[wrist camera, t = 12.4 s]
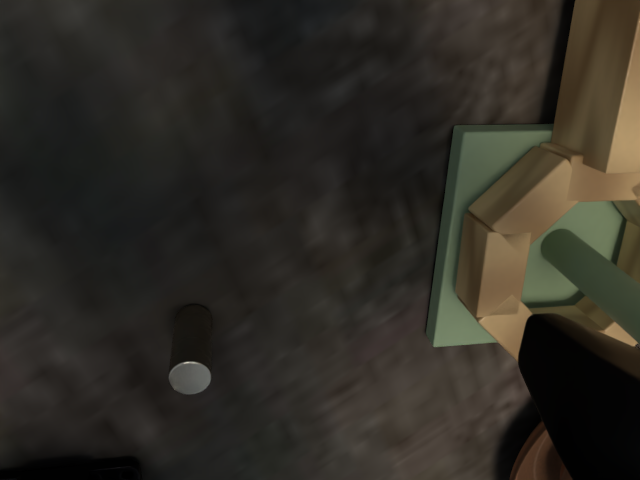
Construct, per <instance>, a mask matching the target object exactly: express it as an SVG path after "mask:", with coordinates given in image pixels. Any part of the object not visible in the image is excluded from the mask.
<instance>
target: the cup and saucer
mask: <svg viewBox="0 0 640 480" xmlns="http://www.w3.org/2000/svg"><path fill="white" fill-rule="evenodd" d="M510 480H572V478H571V476H570V475H569V473H568V471H567V469H566V468H565V466H564V464H563V462H562V460H561V459H560V457H559V455H558V453H557V451H556V449H555V447H554V445H553V443H552V441H551V439H550V437H549V434H548V432H547V430H546V428H545V425H544V423H543V421H541V422H540V423H539V424H538V425H537V426H536V428H535V429H534V430H533V431H532V433H531V434H530V435H529V437H528V438H527V440H526V441H525V443H524V445H523V447H522V448H521V450H520V452H519V454H518V456H517V459H516V461H515V463H514V465H513V468H512V472H511V475H510Z"/></svg>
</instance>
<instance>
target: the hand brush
mask: <svg viewBox="0 0 640 480" xmlns="http://www.w3.org/2000/svg"><path fill="white" fill-rule="evenodd" d="M597 201H613V202H614V204H615V205H616V206H617V208H618V209H619V210H620V212H621V213H622V214H623V216H624V217H625V218H626V220H627V223H626V227H625V231H624V236H623V240H622V244H621V249H620V253H619V257H618V261H617V267H618V268H620V269H621V270H622V271H624V272H625V273H626V274H628V275H629V276H630V277H632V278H633V279H634V280H636V281H637V282H638V283H639V284H640V0H575V4H574V10H573V16H572V21H571V27H570V33H569V39H568V45H567V51H566V56H565V62H564V68H563V74H562V80H561V86H560V91H559V97H558V103H557V109H556V115H555V121H554V126H553V132H552V138H551V143H541V144H540V147H537V146H535V147H533V148H532V149H531V150H530V151H529V152H528V153H527V154H525V155H524V156H523V157H522V158H521V159H520V160H519V161H518V162H517V163H516V164H515V165H514V166H513V167H511V168H510V169H509V170H508V171H507V172H506V173H505V174H504V175H503V176H502V177H501V178H500V179H499V180H497V181H496V182H495V183H494V184H493V185H492V186H491V187H490V188H489V189H488V190H487V191H486V192H485V193H483V194H482V195H481V196H480V197H479V198H478V199H477V200H476V201H475V202H474V203H473V204H472V205H471V206H469V208H468V209H469V211H470V212H471V213H465V214H464V222H463V230H462V238H461V247H460V255H459V264H458V272H457V280H456V289H455V292H456V294H457V295H458V296H457V298H458V299H459V300H460V302H461V303H462V304H463V305H464V306H465V308H466V309H467V310H468V311H469V312H470V314H471V315H472V316H473V317H474V318H475V320H476V321H477V322H478V323H479V324H480V325H481V326H482V327H483V328H484V329H485V330H486V331H487V332H488V333H489V334H490V335H491V336H492V337H493V338H494V339H495V340H496V341H497V342H498V343H499V344H500V345H501V346H502V347H503V348H504V349H505V350H506V351H507V352H508V353H509V354H510V355H511V356H512V357H513V358H514V359H515V360H516V361H518V353H519V349H520V345H521V341H522V337H523V333H524V328H525V324H526V321H527V319H528V317H529V316H531V315H532V314H538V313H557V314H559V315H562V316H564V317H566V318H569V319H571V320H573V321H576V322H578V323H580V324H583V325H585V326H587V327H590V328H592V329H594V330H597V331H599V332H601V333H603V334H606V335H608V336H610V337H613V338H615V339H617V340H620V341H622V342H624V343H627V344H629V345H631V346H635V345H636V344H637V343H638V342H637V341H636V340H634V339H633V338H632V337H631V336H630V335H629V334H628V333H627V332H626V331H625V330H623V329H622V328H621V327H620V326H619V325H618V324H617V323H616V322H615V321H614V320H612V319H611V318H610V317H609V316H608V315H607V314H606V313H605V312H604V311H602V310H601V309H600V308H599V307H598V306H597V305H596V304H595V303H594V302H593V301H591V300H590V299H589V298H588V297H587V296H585V297H583V298H582V299H581V300H580V301H579V302H578V303H576V304H575V305H573V306H558V307H544V308H529V309H528V308H527V306H526V305H525V304H524V303H523V302H522V301H521V296H522V291H523V285H524V279H525V273H526V267H527V261H528V255H529V249H530V245H531V244H532V243H533V242H534V241H535V240H537V239H538V238H539V237H540V236H541V235H542V234H543V233H544V232H546V231H547V230H548V229H549V228H550V227H551V226H552V225H553V224H554V223H556V222H557V221H558V220H559V219H560V218H561V217H562V216H563V215H565V214H566V213H567V212H568V211H569V210H570V209H571V208H572V207H573V206H575V205H576V204H577V203H578V202H597Z"/></svg>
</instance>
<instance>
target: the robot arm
mask: <svg viewBox="0 0 640 480" xmlns="http://www.w3.org/2000/svg"><path fill="white" fill-rule="evenodd" d="M518 365H519V369H520V372H521V374H522V376H523V378H524V381H525V383H526V385H527V387H528V390H529V392H530V394H531V396H532V399H533V401H534V403H535V405H536V408H537V410H538V412H539V414H540V417H541V419H542V421H543V423H544V425H545V428H546V430H547V432H548V434H549V437H550V439H551V441H552V443H553V445H554V447H555V449H556V451H557V453H558V455H559V457H560V459H561V460H562V462H563V464H564V466H565V468H566V469H567V471H568V473H569V475H570V476H571V478H572V480H640V349H638V348H636V347H634V346H631V345H629V344H627V343H624V342H622V341H620V340H617V339H615V338H613V337H610V336H608V335H606V334H603V333H601V332H599V331H597V330H594V329H592V328H590V327H587V326H585V325H583V324H580V323H578V322H576V321H573V320H571V319H569V318H566V317H564V316H562V315H559V314H557V313H538V314H532V315H531V316H529V317H528V319H527V321H526V324H525V328H524V333H523V337H522V341H521V345H520V349H519V353H518ZM125 471H130V472H125ZM0 480H142V475H141V468H140V465H139V463H137V462H136V461H134V460H118V461H108V462H98V463H89V464H79V465H69V466H59V467H50V468H40V469H30V470H20V471H11V472H1V473H0Z"/></svg>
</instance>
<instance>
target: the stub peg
mask: <svg viewBox="0 0 640 480" xmlns="http://www.w3.org/2000/svg"><path fill="white" fill-rule="evenodd" d="M211 374H212V316H211V314H210V312H209V311H208V310H207V309H206V308H204V307H202V306H199V305H189V306H186V307H184V308H182V309H181V310H180V311H179V312H178V313H177V315H176V317H175V325H174V333H173V342H172V350H171V359H170V367H169V376H168V380H169V383H170V385H171V387H172V388H173V389H174V390H175V391H177V392H179V393H182V394H187V395H192V394H197V393H200V392H202V391H203V390H205V389H206V388H207V387H208V385H209V384H210V382H211Z"/></svg>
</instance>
